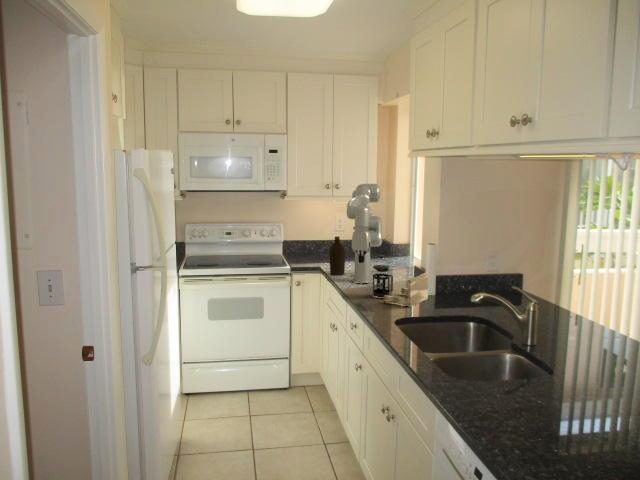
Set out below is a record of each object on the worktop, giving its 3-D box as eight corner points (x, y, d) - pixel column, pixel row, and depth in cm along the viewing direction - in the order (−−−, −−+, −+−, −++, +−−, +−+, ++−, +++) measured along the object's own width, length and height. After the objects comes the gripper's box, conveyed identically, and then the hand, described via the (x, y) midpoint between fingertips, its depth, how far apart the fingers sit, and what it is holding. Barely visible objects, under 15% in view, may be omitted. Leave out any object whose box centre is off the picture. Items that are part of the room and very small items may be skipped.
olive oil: (336, 276, 316) (336, 238, 312) (326, 274, 324) (325, 236, 320) (348, 274, 322) (348, 236, 319) (338, 271, 330) (337, 235, 327)
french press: (374, 299, 259) (374, 257, 256) (368, 295, 268) (369, 254, 265) (395, 298, 262) (395, 256, 258) (389, 294, 271) (389, 253, 267)
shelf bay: (383, 303, 252) (384, 276, 250) (402, 294, 269) (402, 269, 267) (410, 307, 244) (410, 280, 242) (427, 298, 260) (428, 272, 258)
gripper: (346, 229, 269) (346, 262, 271) (369, 230, 260) (369, 264, 262) (353, 228, 275) (353, 260, 277) (376, 229, 266) (376, 262, 268)
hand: (361, 262), depth 270 cm, fingers closed
